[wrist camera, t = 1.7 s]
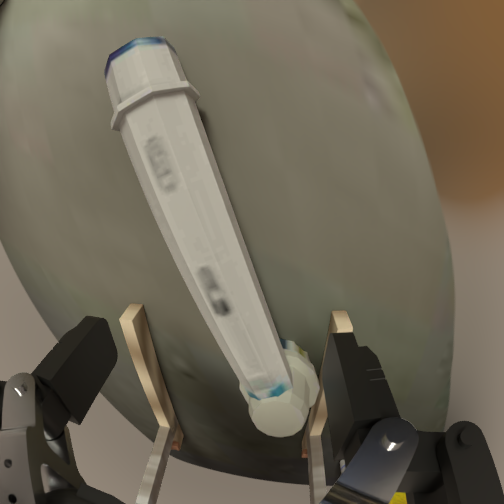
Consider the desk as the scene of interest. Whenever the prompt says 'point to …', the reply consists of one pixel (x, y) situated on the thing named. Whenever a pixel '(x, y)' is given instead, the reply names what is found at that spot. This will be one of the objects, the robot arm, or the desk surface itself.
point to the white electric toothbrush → (205, 230)
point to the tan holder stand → (169, 426)
